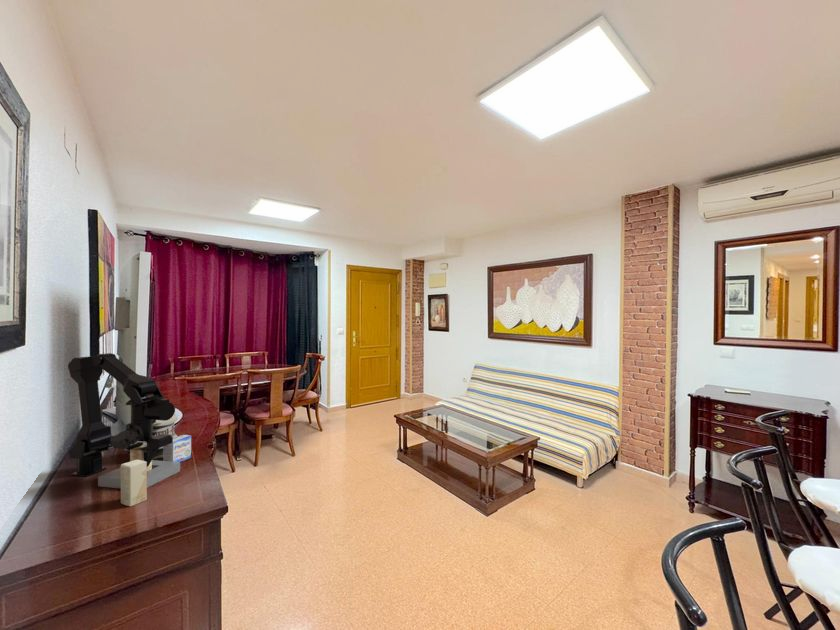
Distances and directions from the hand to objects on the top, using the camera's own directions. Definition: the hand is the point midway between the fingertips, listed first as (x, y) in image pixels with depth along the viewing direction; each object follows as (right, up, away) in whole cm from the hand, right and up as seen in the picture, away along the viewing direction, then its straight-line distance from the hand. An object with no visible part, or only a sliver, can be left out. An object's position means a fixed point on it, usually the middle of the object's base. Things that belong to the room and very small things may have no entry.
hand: (141, 466), depth 115 cm
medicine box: (+2, -5, +14) cm, 15 cm away
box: (+10, -4, -15) cm, 18 cm away
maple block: (0, -2, 0) cm, 2 cm away
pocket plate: (0, -4, 0) cm, 4 cm away
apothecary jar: (-8, -5, +19) cm, 21 cm away
